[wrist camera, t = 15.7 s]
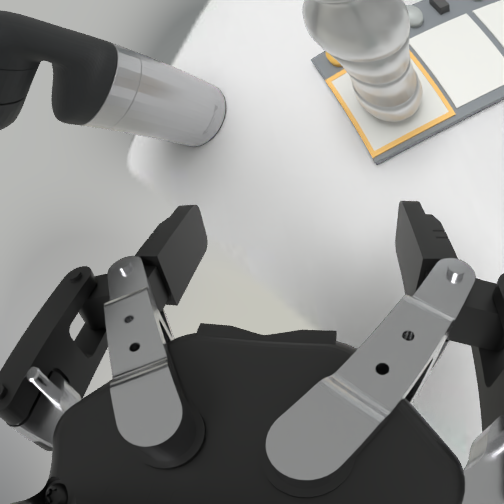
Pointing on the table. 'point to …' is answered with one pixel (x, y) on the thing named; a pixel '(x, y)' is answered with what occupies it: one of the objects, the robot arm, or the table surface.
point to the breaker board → (434, 73)
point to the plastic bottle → (370, 51)
